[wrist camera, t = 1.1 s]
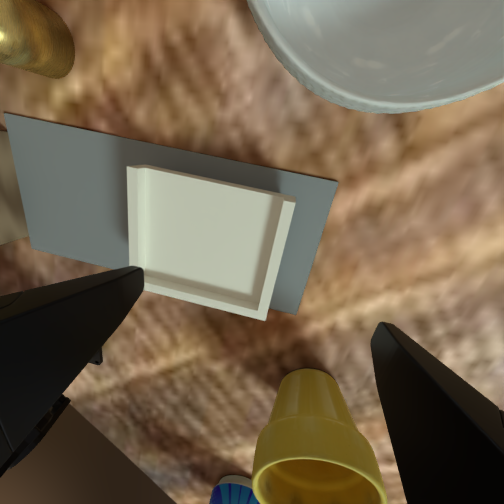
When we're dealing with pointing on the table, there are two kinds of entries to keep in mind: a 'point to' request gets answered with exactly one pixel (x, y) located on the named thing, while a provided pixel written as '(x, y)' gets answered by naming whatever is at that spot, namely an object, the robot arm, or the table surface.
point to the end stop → (10, 196)
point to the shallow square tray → (206, 238)
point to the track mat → (116, 200)
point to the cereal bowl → (387, 49)
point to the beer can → (233, 491)
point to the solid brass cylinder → (35, 39)
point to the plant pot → (314, 448)
